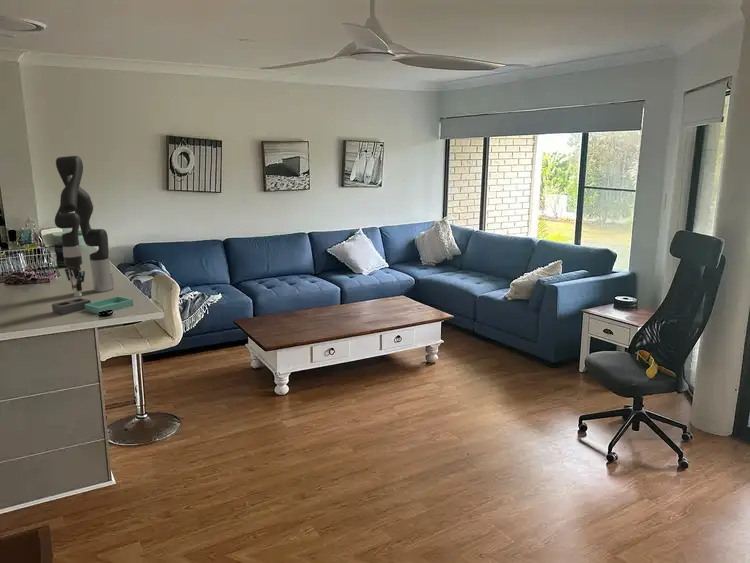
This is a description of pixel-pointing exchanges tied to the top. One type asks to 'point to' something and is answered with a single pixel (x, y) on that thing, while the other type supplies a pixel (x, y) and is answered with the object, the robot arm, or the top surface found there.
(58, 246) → the storage jar
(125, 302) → the tray
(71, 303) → the block
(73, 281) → the fuse
